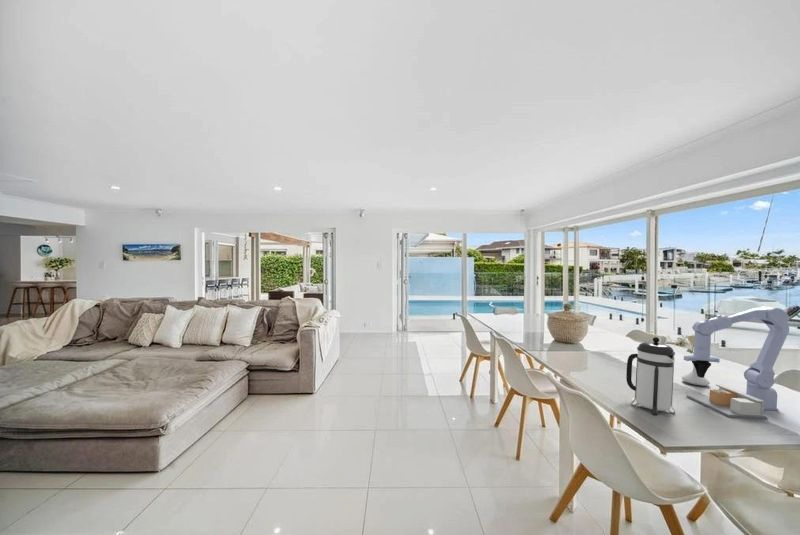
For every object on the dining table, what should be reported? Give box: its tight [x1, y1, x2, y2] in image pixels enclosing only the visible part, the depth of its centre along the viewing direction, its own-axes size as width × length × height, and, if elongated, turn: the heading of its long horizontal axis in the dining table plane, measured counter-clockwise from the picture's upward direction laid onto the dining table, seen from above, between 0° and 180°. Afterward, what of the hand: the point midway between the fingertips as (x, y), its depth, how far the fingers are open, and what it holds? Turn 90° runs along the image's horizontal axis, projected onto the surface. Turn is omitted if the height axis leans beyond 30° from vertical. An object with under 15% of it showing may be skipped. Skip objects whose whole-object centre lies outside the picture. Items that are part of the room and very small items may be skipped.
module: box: [709, 388, 738, 405], centre depth 157 cm, size 8×4×5 cm, turn 88°
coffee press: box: [625, 336, 676, 416], centre depth 149 cm, size 17×16×30 cm
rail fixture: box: [686, 383, 768, 420], centre depth 154 cm, size 15×22×7 cm
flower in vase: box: [681, 334, 711, 387], centre depth 188 cm, size 13×11×25 cm
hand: (700, 377), depth 164 cm, fingers closed
